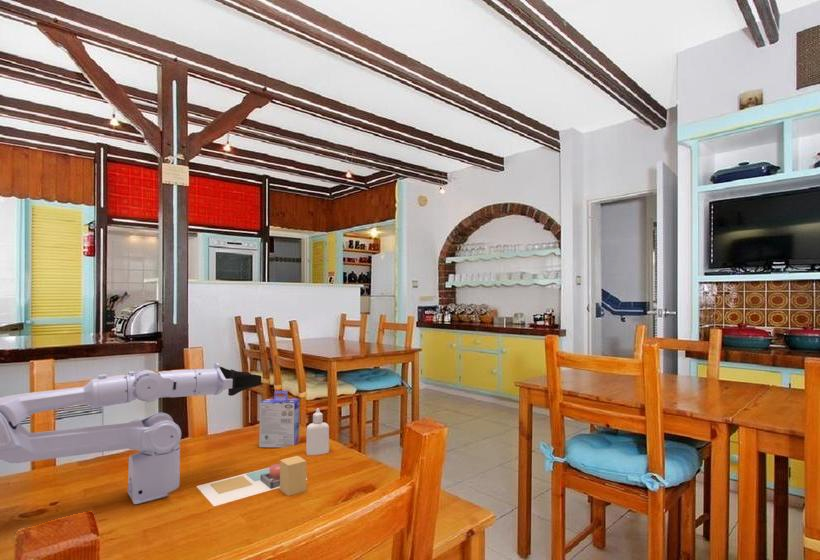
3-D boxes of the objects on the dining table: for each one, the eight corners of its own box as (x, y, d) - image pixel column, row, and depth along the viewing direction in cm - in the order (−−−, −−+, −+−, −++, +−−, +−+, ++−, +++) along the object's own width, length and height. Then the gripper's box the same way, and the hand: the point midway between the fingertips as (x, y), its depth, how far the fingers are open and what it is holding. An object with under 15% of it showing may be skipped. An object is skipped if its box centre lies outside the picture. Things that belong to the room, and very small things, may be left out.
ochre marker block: (288, 500, 94) (288, 465, 95) (279, 493, 98) (279, 459, 98) (306, 494, 97) (306, 460, 97) (297, 488, 100) (297, 455, 100)
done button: (273, 480, 99) (273, 470, 99) (266, 475, 102) (266, 466, 102) (289, 476, 102) (289, 466, 102) (282, 471, 104) (282, 462, 104)
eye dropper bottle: (310, 452, 122) (310, 406, 123) (330, 453, 122) (330, 406, 122) (304, 457, 118) (304, 410, 118) (325, 459, 117) (325, 411, 118)
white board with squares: (213, 510, 90) (213, 500, 90) (196, 489, 99) (196, 480, 99) (308, 482, 103) (308, 473, 103) (284, 467, 112) (284, 458, 112)
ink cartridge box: (300, 441, 131) (300, 389, 131) (295, 448, 125) (295, 394, 126) (265, 441, 131) (265, 389, 131) (258, 448, 125) (258, 394, 126)
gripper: (202, 366, 97) (266, 363, 105) (187, 362, 109) (246, 360, 117) (200, 400, 96) (265, 395, 104) (186, 393, 108) (245, 388, 116)
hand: (255, 378), depth 111 cm, fingers open, 7 cm apart
